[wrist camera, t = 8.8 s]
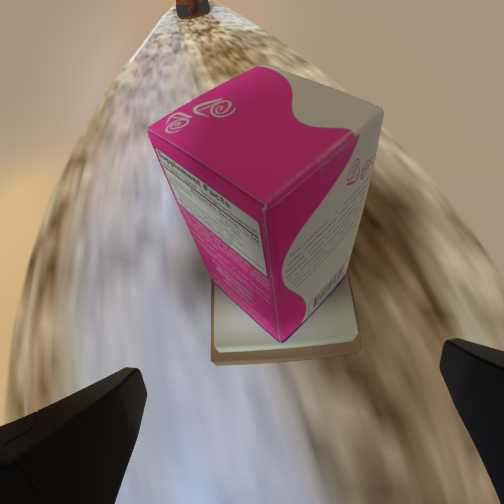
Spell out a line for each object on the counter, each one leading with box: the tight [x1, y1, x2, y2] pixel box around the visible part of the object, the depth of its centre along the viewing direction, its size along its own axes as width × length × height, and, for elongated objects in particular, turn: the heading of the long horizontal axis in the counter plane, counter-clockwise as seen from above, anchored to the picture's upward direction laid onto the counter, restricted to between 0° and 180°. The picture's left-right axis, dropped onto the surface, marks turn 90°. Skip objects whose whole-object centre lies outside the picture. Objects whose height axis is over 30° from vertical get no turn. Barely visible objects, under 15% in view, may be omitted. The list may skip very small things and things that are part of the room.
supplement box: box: [147, 65, 384, 343], centre depth 14 cm, size 6×6×11 cm
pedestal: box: [211, 268, 362, 365], centre depth 20 cm, size 9×9×3 cm
